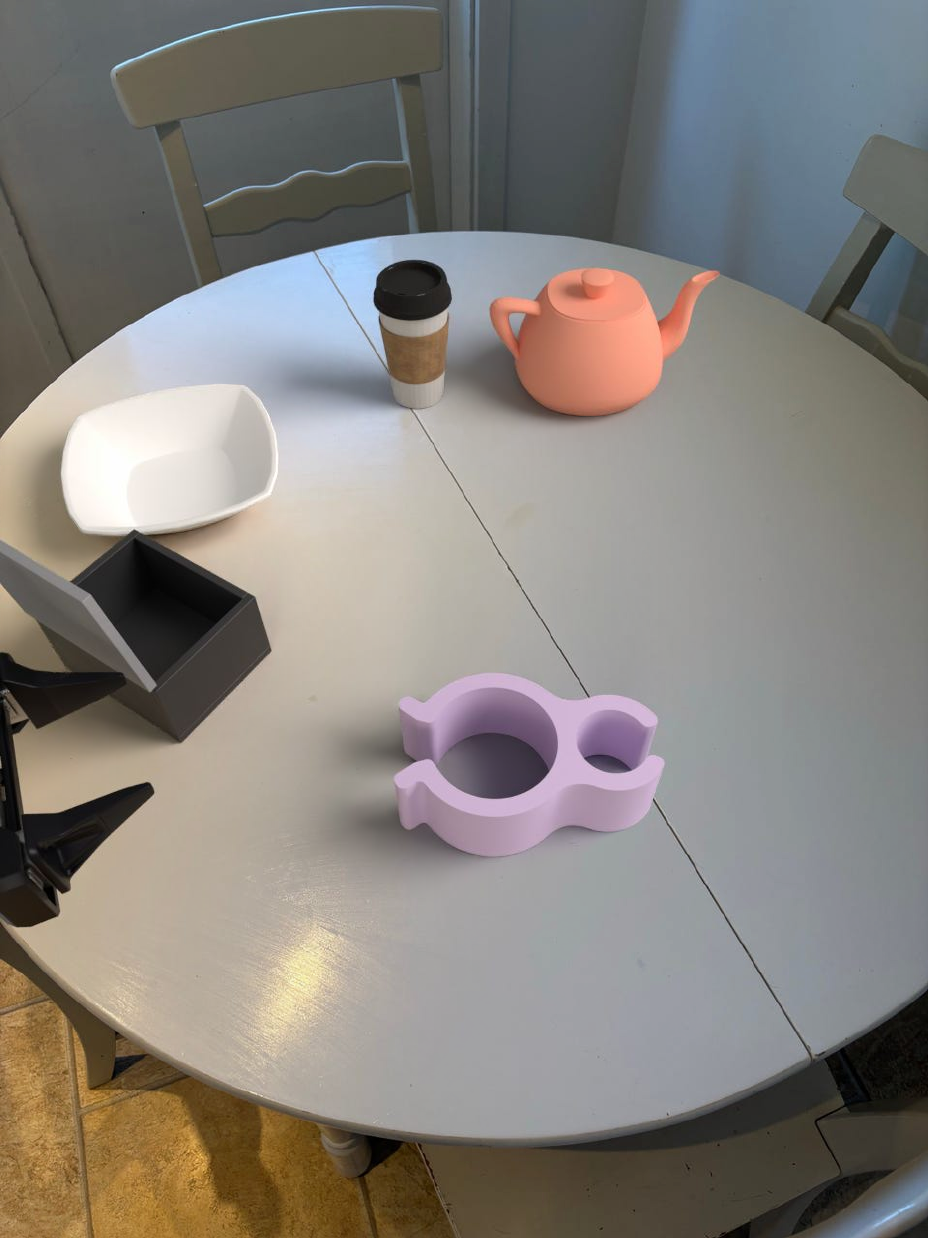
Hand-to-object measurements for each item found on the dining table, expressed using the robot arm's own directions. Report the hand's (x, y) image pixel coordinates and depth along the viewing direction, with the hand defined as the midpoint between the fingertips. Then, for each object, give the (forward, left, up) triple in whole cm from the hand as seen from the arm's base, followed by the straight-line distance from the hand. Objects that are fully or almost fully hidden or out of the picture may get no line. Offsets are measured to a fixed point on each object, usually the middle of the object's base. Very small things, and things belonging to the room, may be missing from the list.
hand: (138, 730), depth 59 cm
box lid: (-3, +14, 0) cm, 14 cm away
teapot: (+57, +38, -15) cm, 70 cm away
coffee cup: (+37, +44, -15) cm, 59 cm away
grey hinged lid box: (+2, +17, -15) cm, 23 cm away
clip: (+26, -7, -15) cm, 31 cm away
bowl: (+8, +39, -15) cm, 42 cm away
